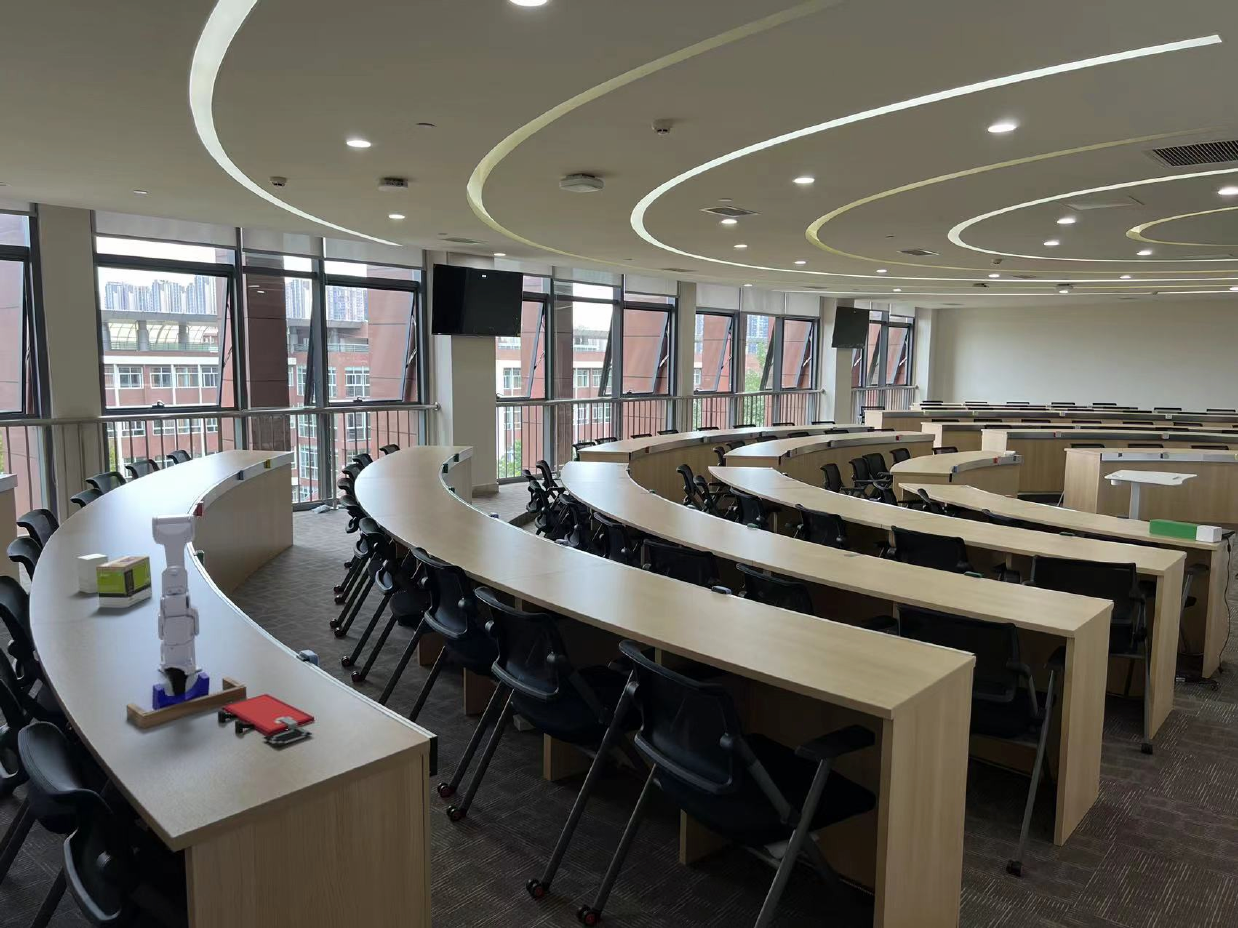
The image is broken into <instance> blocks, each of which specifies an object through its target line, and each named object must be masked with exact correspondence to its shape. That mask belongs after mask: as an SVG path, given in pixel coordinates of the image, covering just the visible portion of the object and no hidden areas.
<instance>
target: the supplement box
mask: <svg viewBox="0 0 1238 928" xmlns="http://www.w3.org/2000/svg"><path fill="white" fill-rule="evenodd" d="M76 559H77V574H78V575H77V576H78V584H79V585H78V587H79V588H78V589H79V591H80V592H84V593H87V594H93V593H98V584H97V572H96V566H99V565H102V564H104V563H107V562H109V556H108V555H104V554H101V553H93V554H92V553H91V554H89V555H87V554H86V555H83V556H78V557H77V558H76Z"/></svg>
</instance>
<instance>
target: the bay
mask: <svg viewBox="0 0 1238 928" xmlns="http://www.w3.org/2000/svg"><path fill="white" fill-rule="evenodd" d="M221 679H222V681H221V682H222V683H221V684H222V690H220V691H218V692H214V693H211V694H210V693H209V695H207V696H203V697H200V698H196V699H193V700H189V701H186V702H182V703H179V704H175V705H172V706H168V707H165V708H161V709H158V710H154V709H153V710H151V711H146V710H144V709H143V708H142V707H140V706H138V705H137V704H135V702H132V703H128V704H126V717H127V718H128V719H130V720H131V721H132V722H133V723H135V724H136V725H138V726H139V727H140V728H141V729H144V730H145V729H149V728H151V727H155V726H158V725H161V724H164V723H167V722H170V721H171V722H172V721H174V720H177V719H181V718H185V717H188V716H191V715H194V714H198V713H201V712H204V711H207V710H211V708H212V709H215V708H218V707H221V706H220V705H222V706H225V705H228V704H231V703H230V702H232V703H236V702H239V701H243V700H246V699H248V698H247V686H246V685H244V684H243V683H240V682H238V681H236V680H235V679H233V678H231V677H229V676H225V677H222V678H221ZM227 703H228V704H227Z"/></svg>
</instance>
